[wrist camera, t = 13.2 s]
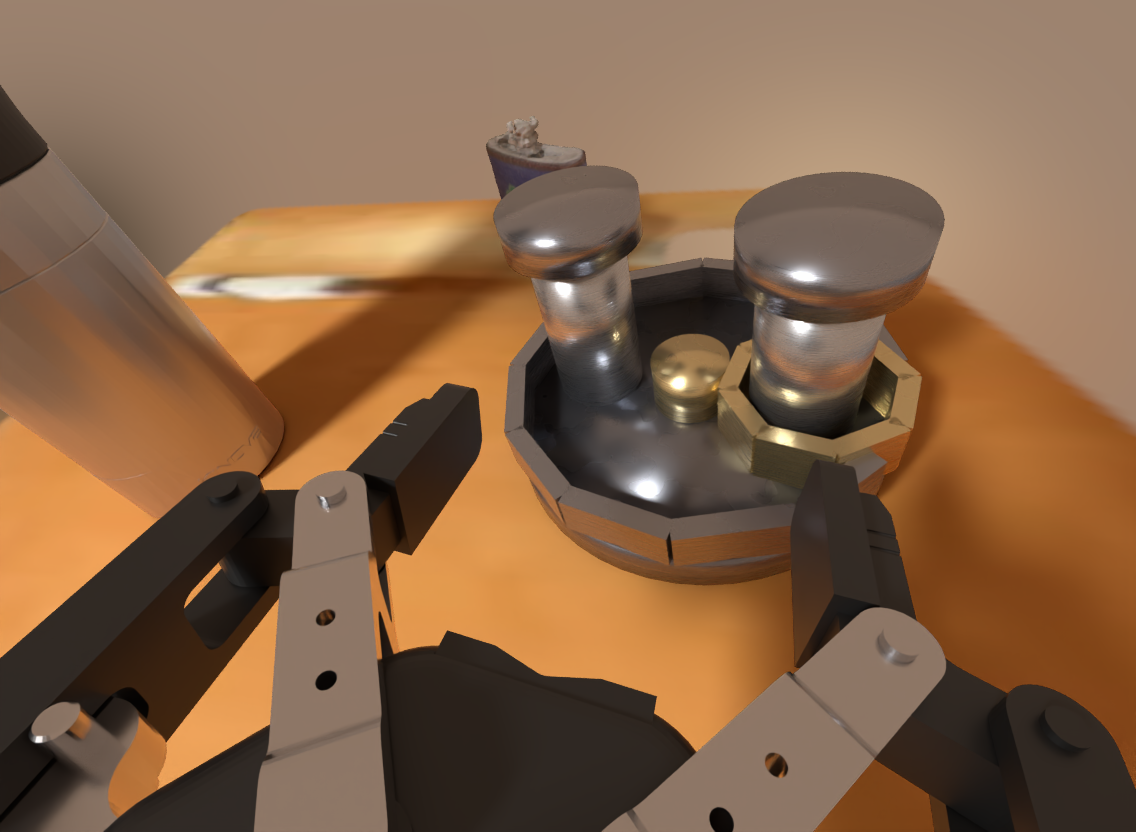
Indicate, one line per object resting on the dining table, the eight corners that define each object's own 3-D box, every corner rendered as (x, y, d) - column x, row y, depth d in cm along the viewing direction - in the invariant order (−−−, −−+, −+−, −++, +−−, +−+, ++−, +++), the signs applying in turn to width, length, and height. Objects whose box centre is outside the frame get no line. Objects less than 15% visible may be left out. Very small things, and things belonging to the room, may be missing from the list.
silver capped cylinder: (711, 452, 24) (708, 261, 17) (751, 363, 27) (764, 168, 20) (857, 493, 22) (930, 287, 14) (884, 389, 25) (955, 175, 17)
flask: (613, 274, 39) (587, 117, 31) (585, 295, 38) (551, 138, 30) (533, 243, 45) (494, 103, 37) (506, 260, 44) (461, 120, 36)
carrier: (462, 506, 27) (347, 320, 19) (610, 299, 37) (579, 112, 28) (854, 661, 19) (965, 455, 11) (915, 342, 29) (999, 99, 20)
